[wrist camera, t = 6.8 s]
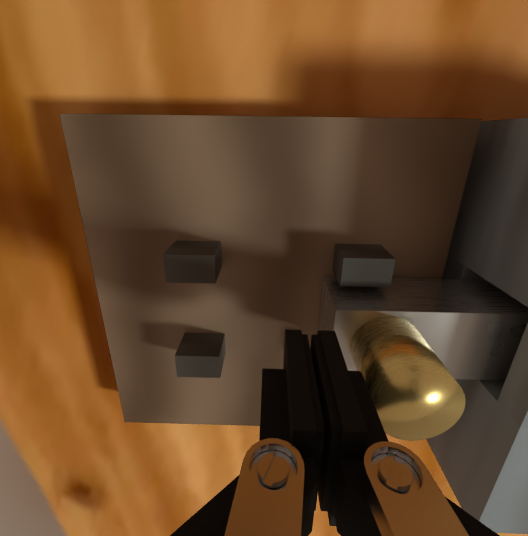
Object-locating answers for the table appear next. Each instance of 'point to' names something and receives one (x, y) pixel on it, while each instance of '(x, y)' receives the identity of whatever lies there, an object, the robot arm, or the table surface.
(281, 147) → the frame
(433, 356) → the bolt
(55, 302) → the table surface
